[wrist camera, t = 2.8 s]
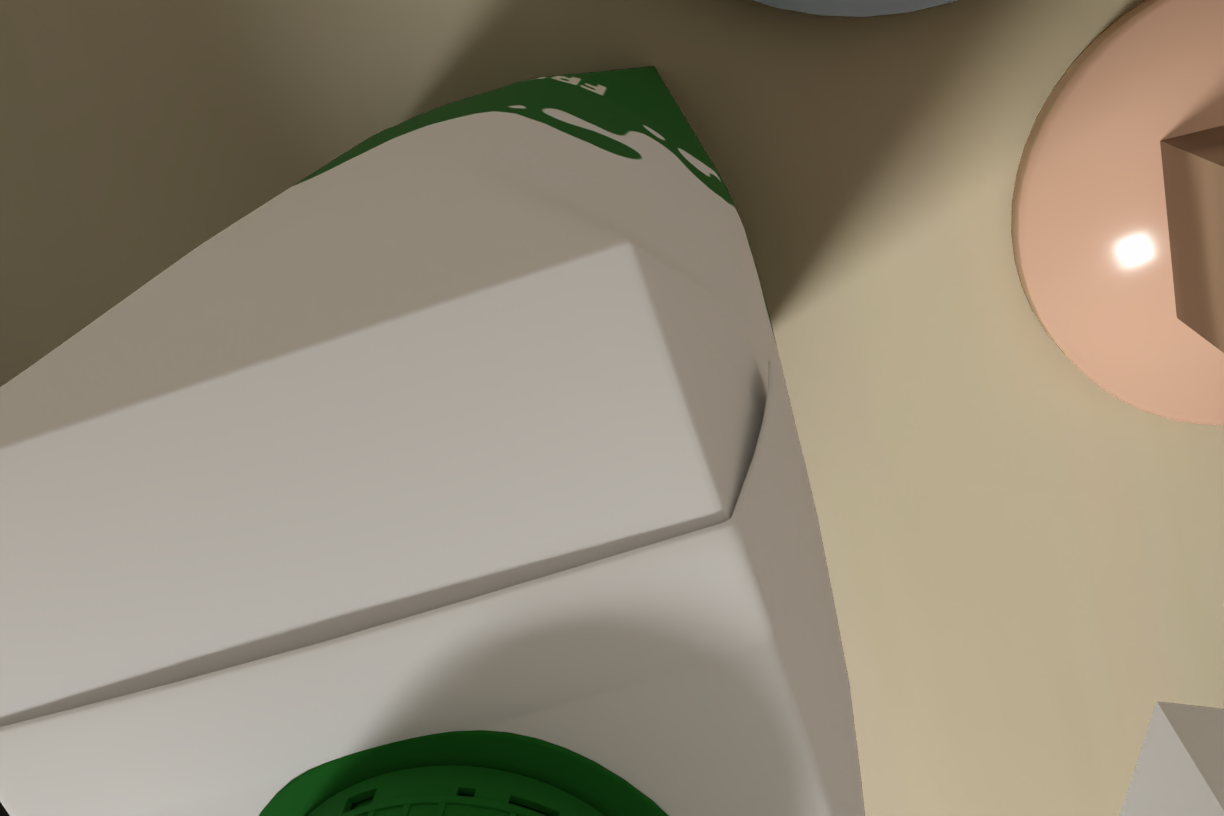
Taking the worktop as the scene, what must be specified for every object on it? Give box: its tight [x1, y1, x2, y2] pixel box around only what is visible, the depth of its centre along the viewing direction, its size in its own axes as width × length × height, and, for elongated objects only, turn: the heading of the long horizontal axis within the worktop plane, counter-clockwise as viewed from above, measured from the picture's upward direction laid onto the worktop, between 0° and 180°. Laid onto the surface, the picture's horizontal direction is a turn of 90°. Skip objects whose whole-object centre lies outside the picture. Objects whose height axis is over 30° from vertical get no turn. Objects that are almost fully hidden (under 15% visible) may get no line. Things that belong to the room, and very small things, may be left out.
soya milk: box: [0, 66, 865, 816], centre depth 18 cm, size 9×9×20 cm
